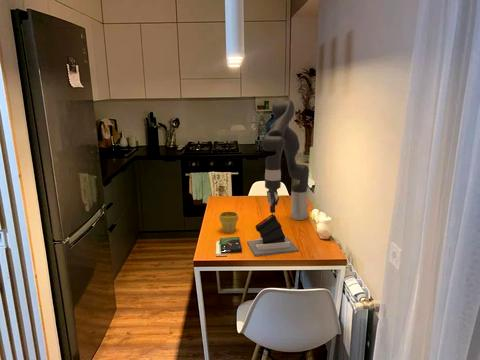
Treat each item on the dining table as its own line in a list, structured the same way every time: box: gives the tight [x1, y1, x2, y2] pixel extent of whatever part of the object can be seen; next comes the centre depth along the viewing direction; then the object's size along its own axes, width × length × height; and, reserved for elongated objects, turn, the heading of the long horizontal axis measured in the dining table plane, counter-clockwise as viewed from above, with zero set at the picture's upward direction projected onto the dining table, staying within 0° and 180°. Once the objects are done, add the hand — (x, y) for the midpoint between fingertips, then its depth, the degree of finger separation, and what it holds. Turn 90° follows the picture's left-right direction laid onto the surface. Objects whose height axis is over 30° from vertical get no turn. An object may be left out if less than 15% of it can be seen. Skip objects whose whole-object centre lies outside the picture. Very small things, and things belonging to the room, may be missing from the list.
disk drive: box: [219, 236, 243, 254], centre depth 187 cm, size 10×3×15 cm
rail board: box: [246, 236, 299, 257], centre depth 185 cm, size 22×16×4 cm
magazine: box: [254, 213, 286, 244], centre depth 184 cm, size 4×13×15 cm
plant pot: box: [218, 210, 239, 234], centre depth 207 cm, size 10×10×10 cm
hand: (272, 212), depth 181 cm, fingers closed
